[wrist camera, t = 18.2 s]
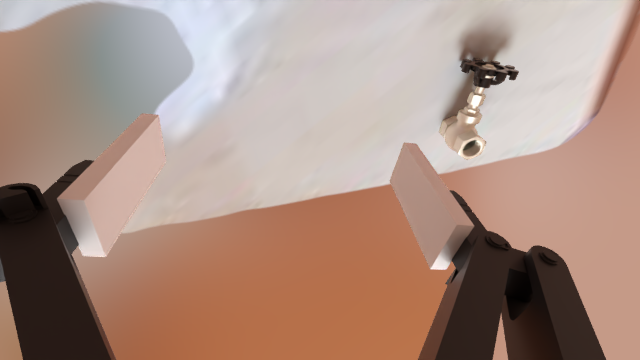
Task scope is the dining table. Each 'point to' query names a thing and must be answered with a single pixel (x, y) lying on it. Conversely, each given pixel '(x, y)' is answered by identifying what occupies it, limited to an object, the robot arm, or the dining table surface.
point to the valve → (473, 107)
